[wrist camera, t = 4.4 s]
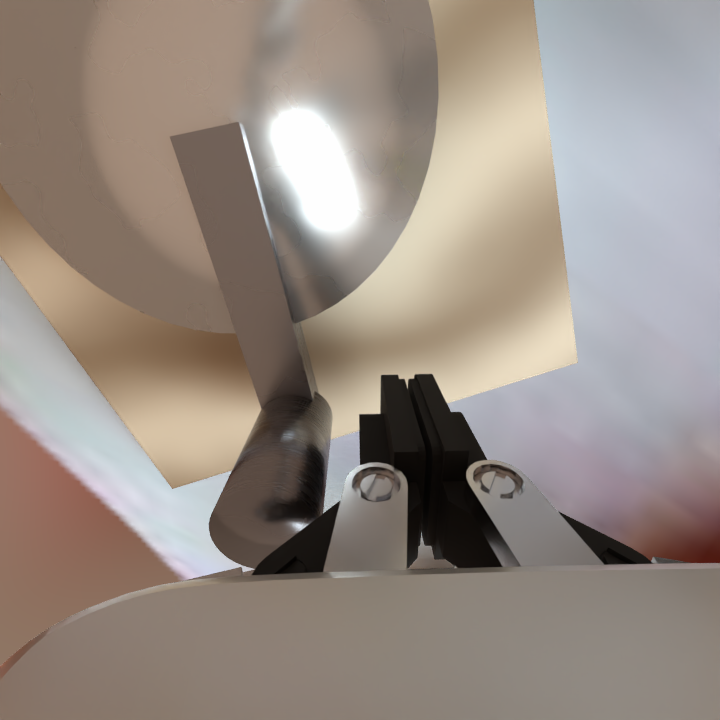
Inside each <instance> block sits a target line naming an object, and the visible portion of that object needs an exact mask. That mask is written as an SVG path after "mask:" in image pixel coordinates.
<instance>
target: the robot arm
mask: <svg viewBox="0 0 720 720" xmlns="http://www.w3.org/2000/svg"><path fill="white" fill-rule="evenodd" d="M359 433H360V466H358V467H356V468H354V469H353V470H352V471H351V472H350V473H349V474H348V476H347V478H346V480H345V484H344V488H343V492H342V496H341V500H340V501H339V502H338V503H337V504H335V505H334V506H333V507H331V508H330V509H329V510H327V511H326V512H325V513H323V514H322V515H321V516H319V517H318V518H317V519H315V520H314V521H313V522H311V523H310V524H309V525H307V526H306V527H305V528H304V529H302V530H301V531H300V532H298V533H297V534H296V535H294V536H293V537H292V538H290V539H289V540H288V541H286V542H285V543H284V544H282V545H281V546H280V547H278V548H277V549H276V550H274V551H273V552H272V553H271V554H269V555H268V556H267V557H265V558H264V559H263V560H262V561H261V562H260V563H259V564H258V565H257V567H256V568H255V570H251V571H247V572H243V573H242V568H241V567H239V568H235V569H231V570H227V571H223V572H219V573H214V574H210V575H206V576H202V577H198V578H193V579H189V580H185V581H181V582H177V583H170V584H164V585H159V586H155V587H151V588H147V589H143V590H140V591H135V592H132V593H128V594H125V595H122V596H119V597H117V598H114V599H111V600H109V601H106V602H103V603H100V604H98V605H95V606H92V607H90V608H87V609H85V610H83V611H81V612H79V613H77V614H75V615H73V616H70V617H68V618H66V619H64V620H63V621H61V622H59V623H57V624H55V625H53V626H51V627H50V628H48V629H46V630H45V631H44V632H42V633H41V634H39V635H38V636H36V637H35V638H33V639H32V640H30V641H29V642H28V643H26V644H25V645H24V646H23V647H21V648H20V649H19V650H18V651H17V652H16V653H14V654H13V655H12V656H10V658H8V659H7V660H6V661H5V662H4V663H3V664H2V665H1V666H0V720H720V563H688V562H682V561H676V560H670V559H664V558H658V557H653V559H652V561H650V560H648V559H647V558H646V557H645V556H644V555H642V554H640V553H639V552H637V551H635V550H634V549H632V548H630V547H628V546H626V545H624V544H622V543H620V542H618V541H616V540H614V539H612V538H610V537H608V536H606V535H604V534H602V533H600V532H598V531H596V530H594V529H592V528H590V527H588V526H586V525H584V524H582V523H580V522H578V521H576V520H574V519H572V518H570V517H568V516H566V515H564V514H562V513H560V512H558V511H557V510H556V509H555V508H554V507H553V505H552V504H551V503H550V502H549V501H548V500H547V499H546V497H545V496H544V495H543V494H542V493H541V492H540V491H539V489H538V488H537V487H536V486H535V485H534V484H533V483H532V481H531V480H530V479H529V478H528V477H527V476H526V475H525V474H524V473H523V472H522V471H521V470H519V469H517V468H516V467H514V466H512V465H510V464H507V463H504V462H501V461H496V460H487V459H486V457H485V455H484V453H483V451H482V449H481V447H480V446H479V444H478V442H477V440H476V438H475V436H474V434H473V433H472V431H471V429H470V427H469V425H468V423H467V421H466V420H465V418H464V416H463V414H462V413H461V412H451V411H450V409H449V407H448V405H447V403H446V401H445V399H444V397H443V395H442V393H441V390H440V388H439V386H438V384H437V382H436V380H435V378H434V376H433V374H415V375H414V379H408V388H407V385H406V382H405V379H399V377H398V375H381V400H380V414H359ZM421 531H422V536H423V541H424V544H425V546H432V550H433V554H434V559H446V560H447V561H449V562H450V563H452V564H453V565H454V568H447V569H411V570H407V569H408V568H409V567H410V565H411V564H412V563H413V562H414V561H415V560H416V559H417V556H418V546H420V540H421Z"/></svg>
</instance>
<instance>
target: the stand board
mask: <svg viewBox="0 0 720 720" xmlns="http://www.w3.org/2000/svg"><path fill="white" fill-rule="evenodd" d="M428 1H429V5H430V9H431V14H432V18H433V25H434V33H435V41H436V49H437V56H438V92H439V99H438V110H437V122H436V133H435V138H434V144H433V149H432V154H431V159H430V164H429V168H428V171H427V174H426V178H425V181H424V184H423V187H422V190H421V193H420V196H419V199H418V201H417V203H416V206H415V208H414V210H413V212H412V214H411V217H410V219H409V221H408V223H407V225H406V227H405V229H404V230H403V232H402V234H401V235H400V237H399V239H398V240H397V242H396V243H395V245H394V247H393V248H392V250H391V251H390V253H389V254H388V255H387V256H386V258H385V259H384V260H383V261H382V263H381V264H380V265H379V266H378V268H377V269H376V270H375V271H374V272H373V273H372V274H371V275H370V276H369V277H368V278H367V279H366V280H365V281H364V282H363V283H362V284H361V285H360V286H359V287H358V288H357V289H356V290H354V291H353V292H352V293H350V294H349V295H348V296H346V297H345V298H344V299H342V300H341V301H340V302H338V303H337V304H335V305H334V306H332V307H330V308H328V309H327V310H325V311H323V312H321V313H319V314H318V315H316V316H314V317H311V318H309V319H306V320H303V321H301V326H302V329H303V333H304V337H305V341H306V345H307V349H308V353H309V357H310V361H311V364H312V368H313V372H314V376H315V380H316V384H317V388H318V392H319V394H320V395H321V396H323V397H324V398H325V400H326V401H327V402H328V404H329V406H330V408H331V411H332V416H333V420H332V430H331V439H334V438H337V437H340V436H344V435H347V434H350V433H353V432H357V431H359V414H380V400H381V375H398V377H399V379H405V382H406V385H407V388H408V379H414V375H415V374H433V376H434V378H435V380H436V382H437V384H438V386H439V388H440V390H441V393H442V395H443V397H444V399H445V401H446V403H450V402H453V401H456V400H459V399H463V398H466V397H469V396H472V395H475V394H479V393H482V392H485V391H488V390H491V389H495V388H498V387H501V386H504V385H507V384H511V383H514V382H517V381H520V380H524V379H527V378H530V377H533V376H536V375H540V374H543V373H546V372H549V371H552V370H556V369H559V368H562V367H565V366H568V365H572V364H575V363H578V360H577V352H576V344H575V336H574V328H573V320H572V311H571V303H570V295H569V287H568V279H567V271H566V262H565V254H564V246H563V238H562V230H561V222H560V213H559V205H558V197H557V189H556V181H555V173H554V165H553V156H552V148H551V140H550V132H549V124H548V116H547V107H546V99H545V91H544V83H543V75H542V67H541V58H540V50H539V42H538V34H537V26H536V18H535V9H534V1H533V0H428ZM0 256H1V257H2V258H3V260H4V261H5V262H6V264H7V265H8V267H9V268H10V269H11V271H12V272H13V273H14V275H15V276H16V277H17V279H18V280H19V281H20V283H21V284H22V286H23V287H24V288H25V290H26V291H27V292H28V294H29V295H30V296H31V298H32V299H33V300H34V302H35V303H36V305H37V306H38V307H39V309H40V310H41V311H42V313H43V314H44V315H45V317H46V318H47V319H48V321H49V322H50V324H51V325H52V326H53V328H54V329H55V330H56V332H57V333H58V334H59V336H60V337H61V338H62V340H63V341H64V342H65V344H66V345H67V347H68V348H69V349H70V351H71V352H72V353H73V355H74V356H75V357H76V359H77V360H78V361H79V363H80V364H81V366H82V367H83V368H84V370H85V371H86V372H87V374H88V375H89V376H90V378H91V379H92V380H93V382H94V383H95V385H96V386H97V387H98V389H99V390H100V391H101V393H102V394H103V395H104V397H105V398H106V399H107V401H108V402H109V404H110V405H111V406H112V408H113V409H114V410H115V412H116V413H117V414H118V416H119V417H120V418H121V420H122V421H123V422H124V424H125V425H126V427H127V428H128V429H129V431H130V432H131V433H132V435H133V436H134V437H135V439H136V440H137V441H138V443H139V444H140V446H141V447H142V448H143V450H144V451H145V452H146V454H147V455H148V456H149V458H150V459H151V460H152V462H153V463H154V465H155V466H156V467H157V469H158V470H159V471H160V473H161V474H162V475H163V477H164V478H165V479H166V481H167V482H168V483H169V485H170V486H171V488H172V489H173V488H177V487H180V486H183V485H186V484H190V483H193V482H196V481H199V480H202V479H206V478H209V477H212V476H215V475H218V474H222V473H225V472H228V471H231V470H233V468H234V466H235V464H236V462H237V459H238V457H239V455H240V453H241V451H242V449H243V447H244V445H245V443H246V440H247V438H248V436H249V434H250V432H251V430H252V428H253V426H254V424H255V421H256V419H257V417H258V415H259V413H260V411H261V406H260V403H259V400H258V398H257V395H256V392H255V389H254V386H253V383H252V380H251V377H250V374H249V371H248V368H247V365H246V362H245V359H244V356H243V353H242V350H241V347H240V344H239V341H238V338H237V335H236V333H215V332H208V331H200V330H194V329H190V328H186V327H182V326H178V325H174V324H170V323H168V322H165V321H162V320H160V319H157V318H154V317H152V316H149V315H146V314H144V313H142V312H140V311H138V310H136V309H134V308H132V307H130V306H128V305H126V304H124V303H122V302H120V301H118V300H117V299H115V298H114V297H112V296H111V295H109V294H107V293H106V292H104V291H103V290H101V289H100V288H98V287H97V286H95V285H94V284H92V283H91V282H90V281H89V280H87V279H86V278H85V277H84V276H82V275H81V274H80V273H78V272H77V271H76V270H75V269H73V268H72V267H71V266H70V265H69V264H68V263H67V262H66V261H65V260H63V259H62V258H61V257H60V256H59V255H58V254H57V253H56V252H55V251H54V250H53V249H52V248H51V247H50V246H49V245H48V244H47V243H46V242H45V241H44V240H43V239H42V237H41V236H40V235H39V234H38V233H37V232H36V230H35V229H34V228H33V227H32V226H31V225H30V224H29V222H28V221H27V220H26V219H25V218H24V216H23V215H22V213H21V212H20V211H19V209H18V208H17V206H16V205H15V204H14V202H13V201H12V199H11V198H10V197H9V195H8V194H7V192H6V191H5V190H4V188H3V186H2V185H1V183H0Z"/></svg>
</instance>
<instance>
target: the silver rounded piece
mask: <svg viewBox="0 0 720 720" xmlns="http://www.w3.org/2000/svg"><path fill="white" fill-rule="evenodd" d="M438 99H439V92H438V56H437V49H436V41H435V33H434V25H433V18H432V14H431V9H430V5H429V1H428V0H0V183H1V185H2V186H3V188H4V190H5V191H6V192H7V194H8V195H9V197H10V198H11V199H12V201H13V202H14V204H15V205H16V206H17V208H18V209H19V211H20V212H21V213H22V215H23V216H24V218H25V219H26V220H27V221H28V222H29V224H30V225H31V226H32V227H33V228H34V229H35V230H36V232H37V233H38V234H39V235H40V236H41V237H42V239H43V240H44V241H45V242H46V243H47V244H48V245H49V246H50V247H51V248H52V249H53V250H54V251H55V252H56V253H57V254H58V255H59V256H60V257H61V258H62V259H63V260H65V261H66V262H67V263H68V264H69V265H70V266H71V267H72V268H73V269H75V270H76V271H77V272H78V273H80V274H81V275H82V276H84V277H85V278H86V279H87V280H89V281H90V282H91V283H92V284H94V285H95V286H97V287H98V288H100V289H101V290H103V291H104V292H106V293H107V294H109V295H111V296H112V297H114V298H115V299H117V300H118V301H120V302H122V303H124V304H126V305H128V306H130V307H132V308H134V309H136V310H138V311H140V312H142V313H144V314H146V315H149V316H152V317H154V318H157V319H160V320H162V321H165V322H168V323H170V324H174V325H178V326H182V327H186V328H190V329H194V330H200V331H208V332H215V333H236V335H237V338H238V341H239V344H240V347H241V350H242V353H243V356H244V359H245V362H246V365H247V368H248V371H249V374H250V377H251V380H252V383H253V386H254V389H255V392H256V395H257V398H258V400H259V403H260V406H261V411H260V413H259V415H258V417H257V419H256V421H255V424H254V426H253V428H252V430H251V432H250V434H249V436H248V438H247V440H246V443H245V445H244V447H243V449H242V451H241V453H240V455H239V457H238V459H237V462H236V464H235V466H234V468H233V470H232V472H231V474H230V476H229V478H228V481H227V483H226V485H225V487H224V489H223V491H222V493H221V495H220V497H219V500H218V502H217V504H216V506H215V508H214V510H213V512H212V514H211V517H210V521H209V531H210V536H211V538H212V540H213V542H214V544H215V545H216V547H217V548H218V549H219V550H220V551H221V552H222V553H223V554H224V555H225V556H226V557H228V558H229V559H231V560H233V561H234V562H236V563H238V564H241V565H243V566H246V567H250V568H254V569H255V568H256V567H257V565H258V564H259V563H260V562H261V561H262V560H263V559H264V558H265V557H267V556H268V555H269V554H271V553H272V552H273V551H274V550H276V549H277V548H278V547H280V546H281V545H282V544H284V543H285V542H286V541H288V540H289V539H290V538H292V537H293V536H294V535H296V534H297V533H298V532H300V531H301V530H302V529H304V528H305V527H306V526H307V525H309V524H310V523H311V522H313V521H314V520H315V519H317V518H318V517H319V516H321V515H322V514H323V507H324V497H325V488H326V478H327V468H328V459H329V449H330V440H331V430H332V420H333V416H332V411H331V408H330V406H329V404H328V402H327V401H326V400H325V398H324V397H323V396H321V395H320V394H319V392H318V388H317V384H316V380H315V376H314V372H313V368H312V364H311V361H310V357H309V353H308V349H307V345H306V341H305V337H304V333H303V329H302V326H301V321H303V320H306V319H309V318H311V317H314V316H316V315H318V314H319V313H321V312H323V311H325V310H327V309H328V308H330V307H332V306H334V305H335V304H337V303H338V302H340V301H341V300H342V299H344V298H345V297H346V296H348V295H349V294H350V293H352V292H353V291H354V290H356V289H357V288H358V287H359V286H360V285H361V284H362V283H363V282H364V281H365V280H366V279H367V278H368V277H369V276H370V275H371V274H372V273H373V272H374V271H375V270H376V269H377V268H378V266H379V265H380V264H381V263H382V261H383V260H384V259H385V258H386V256H387V255H388V254H389V253H390V251H391V250H392V248H393V247H394V245H395V243H396V242H397V240H398V239H399V237H400V235H401V234H402V232H403V230H404V229H405V227H406V225H407V223H408V221H409V219H410V217H411V214H412V212H413V210H414V208H415V206H416V203H417V201H418V199H419V196H420V193H421V190H422V187H423V184H424V181H425V178H426V174H427V171H428V168H429V164H430V159H431V154H432V149H433V144H434V138H435V133H436V122H437V110H438Z"/></svg>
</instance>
